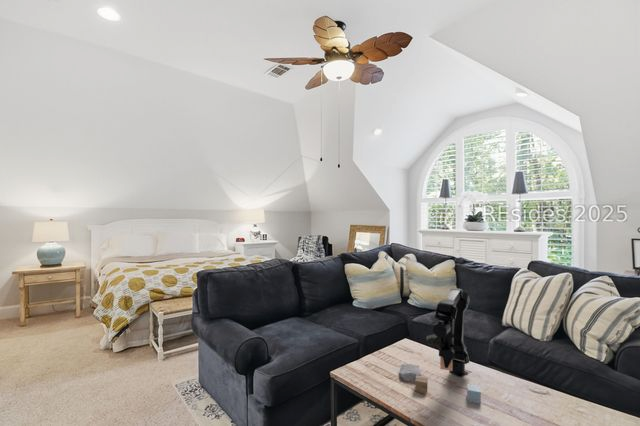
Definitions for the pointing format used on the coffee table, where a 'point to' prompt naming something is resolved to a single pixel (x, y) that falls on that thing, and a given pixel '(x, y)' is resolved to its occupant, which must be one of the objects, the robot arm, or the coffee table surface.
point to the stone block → (409, 372)
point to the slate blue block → (473, 394)
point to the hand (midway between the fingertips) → (446, 364)
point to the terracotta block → (444, 365)
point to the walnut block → (421, 384)
